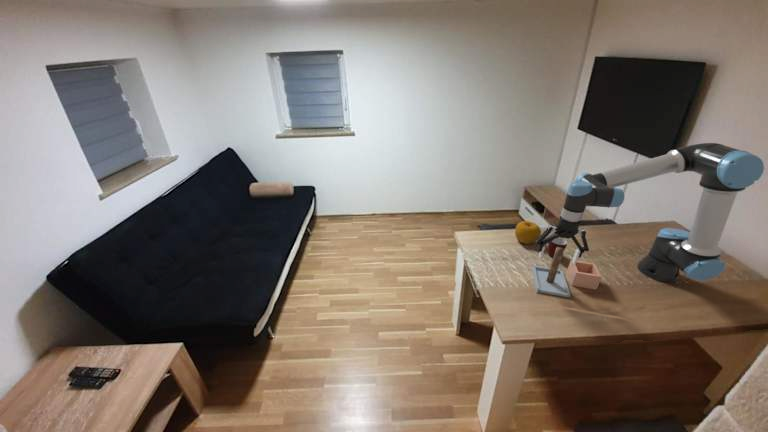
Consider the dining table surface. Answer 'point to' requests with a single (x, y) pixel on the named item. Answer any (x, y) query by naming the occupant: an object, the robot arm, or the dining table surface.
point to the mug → (556, 245)
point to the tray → (550, 288)
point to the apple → (527, 232)
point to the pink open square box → (584, 274)
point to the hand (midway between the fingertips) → (556, 259)
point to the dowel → (555, 264)
